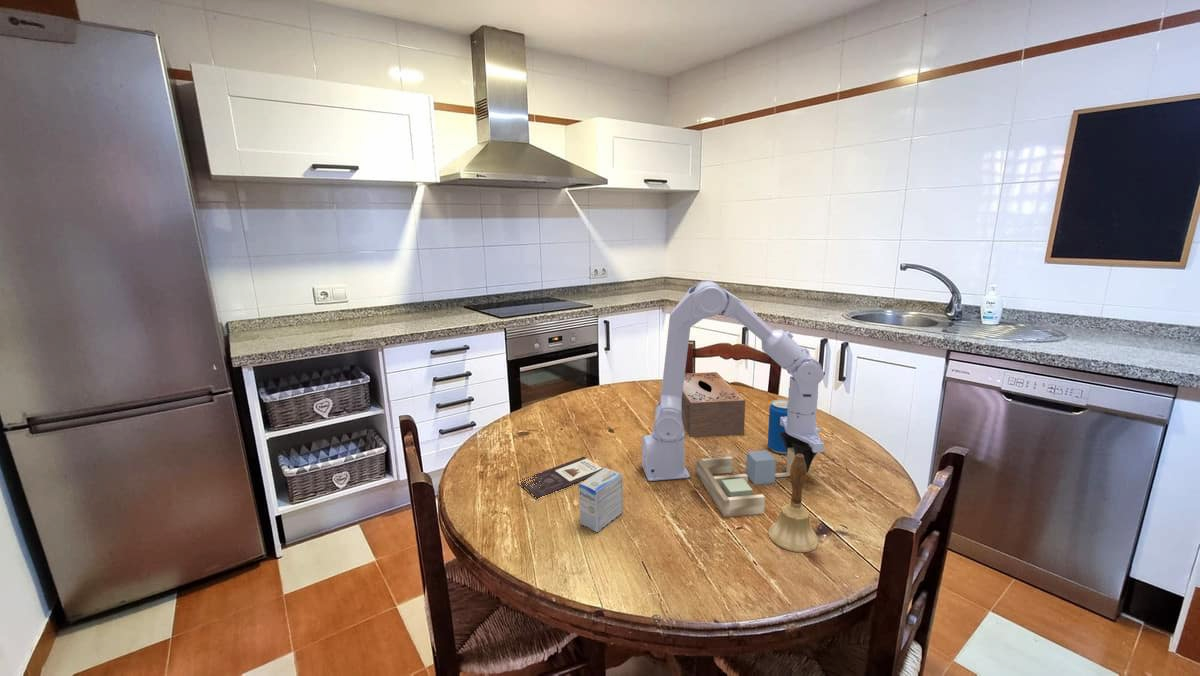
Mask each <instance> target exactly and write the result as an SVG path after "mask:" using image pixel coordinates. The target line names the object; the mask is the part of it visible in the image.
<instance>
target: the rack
mask: <svg viewBox="0 0 1200 676" xmlns="http://www.w3.org/2000/svg"><path fill="white" fill-rule="evenodd" d="M733 470H734V458H733V456H719V457H707V458H706V457H705V458H704V457H703V458H697V459H696V474H697V475H696V476H698V478H699V479H700V481H701V483H702V484H703V485H704V487H705V489H706V491H707V493H708V494H709V496H710V497H711V499H712V501H713V503H715V504H714V505H716V507H717V508H718V510H719V512H720V513H721V515H722V516H723V518H730V517H742V516H752V515H762V514H763V515H764V514H765V504H766V496H765V495H764V494H762V493H761V494H752V495H749V496H738V497H727V496H726V494H725V493H724V491H723V490H722V480H729V479H740V478H743V479H744V480H745V481H746V482H747V484H749V483H748V480H749V477H748V476H747V475H746V473H740V474H739V473H738V474H731V473H733ZM719 474H720V475H719ZM721 474H722V475H721ZM723 474H727V475H723ZM714 475H716V476H714Z"/></svg>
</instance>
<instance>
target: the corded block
mask: <svg viewBox="0 0 1200 676" xmlns="http://www.w3.org/2000/svg"><path fill="white" fill-rule="evenodd" d="M786 456H787V457H786V472H776V469H777V468H776V465H777V459H776V458H775V457H774V456H773V455H772V454H771V453H770V452H769V451H768V450H767V449H765V450H764V449H763V450H751V451H747V452H746V466H745V467H746V469H745V474H746V475H747V476H748V480H750V481H751V483H753V484H754V486H757V485H769V484H775V482H776V478H787V477H790V469H791V465H792V462H793V460H794V458H795V451H794V448H788V452H787V454H786Z"/></svg>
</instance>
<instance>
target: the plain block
mask: <svg viewBox="0 0 1200 676" xmlns="http://www.w3.org/2000/svg"><path fill="white" fill-rule="evenodd" d="M722 490H723V491H724V493H725V494H726V496H727V497H738V496H749V495H753V489H752V487H751V486H750V484H749V483H747V482H746V481H745V480H744V479H743V478H740V479H729V480H722Z"/></svg>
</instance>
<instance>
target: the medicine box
mask: <svg viewBox="0 0 1200 676" xmlns="http://www.w3.org/2000/svg"><path fill="white" fill-rule="evenodd" d="M623 491H624V490H623V474H622V473H620V472H618V471H615V470H612V469H610V468H607V467H603V469H602V470H601V471H599V472H597V473H596V474H594V475H593V476H591V477H590V478H588V479H586V480H585V481H583V482H582V483H579V484H578V495H579V514H580V515H579V517H580V518H579V520H580V525H581V526H583V525H584V526H583V527H585V526H587V527H589V528H590V529H589V528H588V529H589V530H591V529H592V530H591V531H593V530H595V531H596V532H595V531H594V532H595V533H597V532H598V533H599V532H600V531H601V529H602V528H603V527H604V528H605V527H606V525H607V524H608V525H610V524H611V523H612V522H613V521H614V520H615V519H616V517H617V518H618V517H619V516H620V515H622V514H623V513H624V510H623V509H624V502H623V499H624V498H623V497H624V495H623ZM612 520H613V521H612ZM611 521H612V522H611ZM608 525H607V526H608ZM587 527H586V528H587ZM604 528H603V529H604ZM603 529H602V530H603Z"/></svg>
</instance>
